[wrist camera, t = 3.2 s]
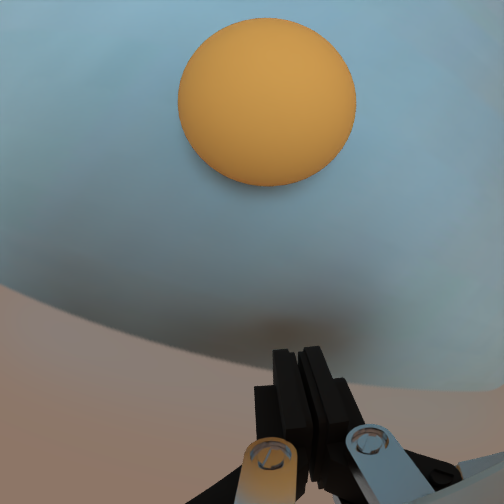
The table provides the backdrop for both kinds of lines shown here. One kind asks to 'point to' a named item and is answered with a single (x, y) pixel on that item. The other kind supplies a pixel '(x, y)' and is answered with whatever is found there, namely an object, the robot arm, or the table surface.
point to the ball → (267, 102)
